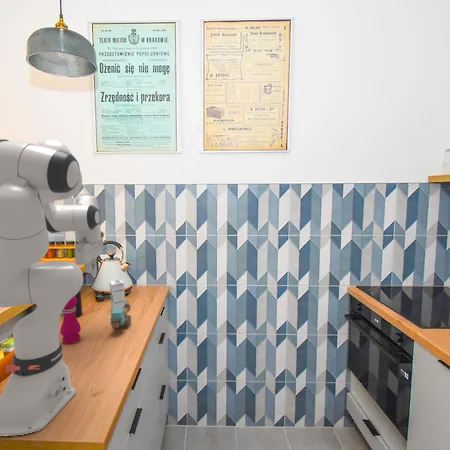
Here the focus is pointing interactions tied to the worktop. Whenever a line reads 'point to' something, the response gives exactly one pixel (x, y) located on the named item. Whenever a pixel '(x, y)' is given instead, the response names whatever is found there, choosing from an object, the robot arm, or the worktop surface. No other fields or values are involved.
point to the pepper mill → (70, 323)
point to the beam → (127, 318)
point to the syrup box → (117, 294)
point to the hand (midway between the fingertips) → (91, 270)
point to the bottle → (78, 304)
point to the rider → (118, 316)
